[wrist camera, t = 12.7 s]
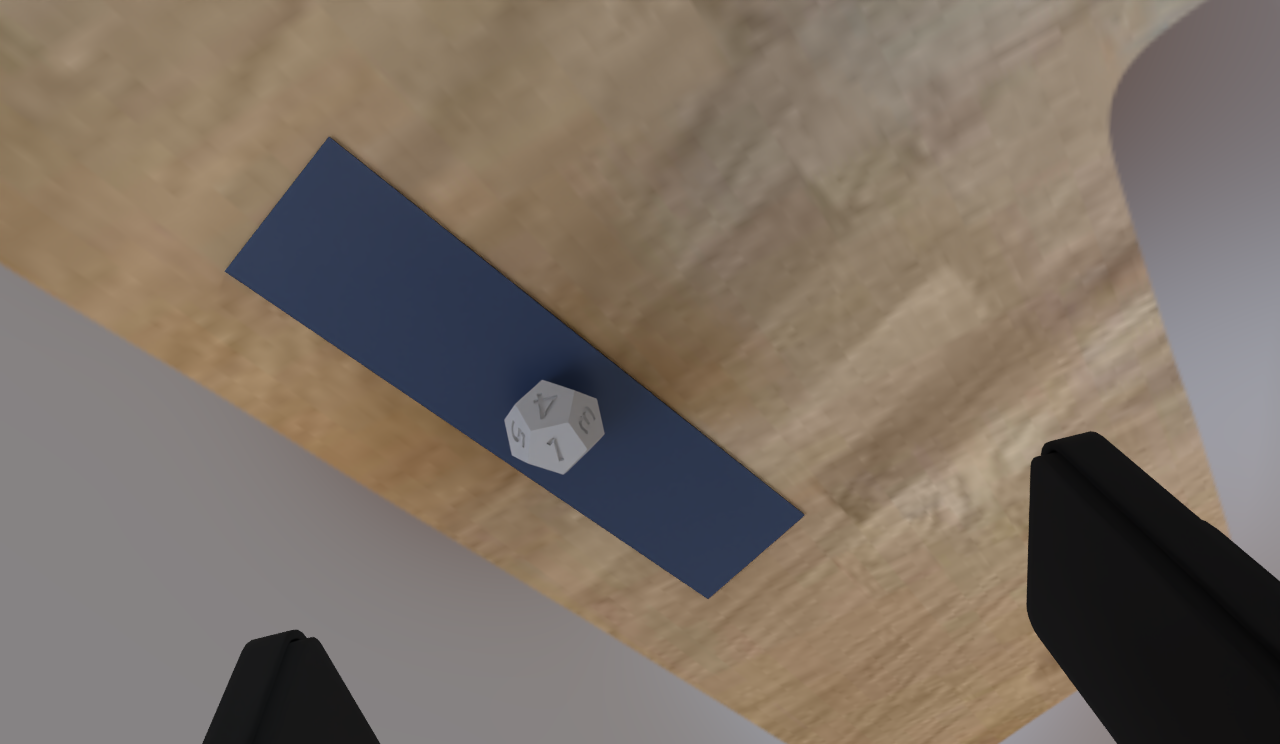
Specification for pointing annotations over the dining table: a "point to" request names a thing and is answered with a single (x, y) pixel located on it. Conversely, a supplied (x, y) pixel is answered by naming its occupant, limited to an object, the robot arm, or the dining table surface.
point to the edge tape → (500, 366)
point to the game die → (553, 427)
